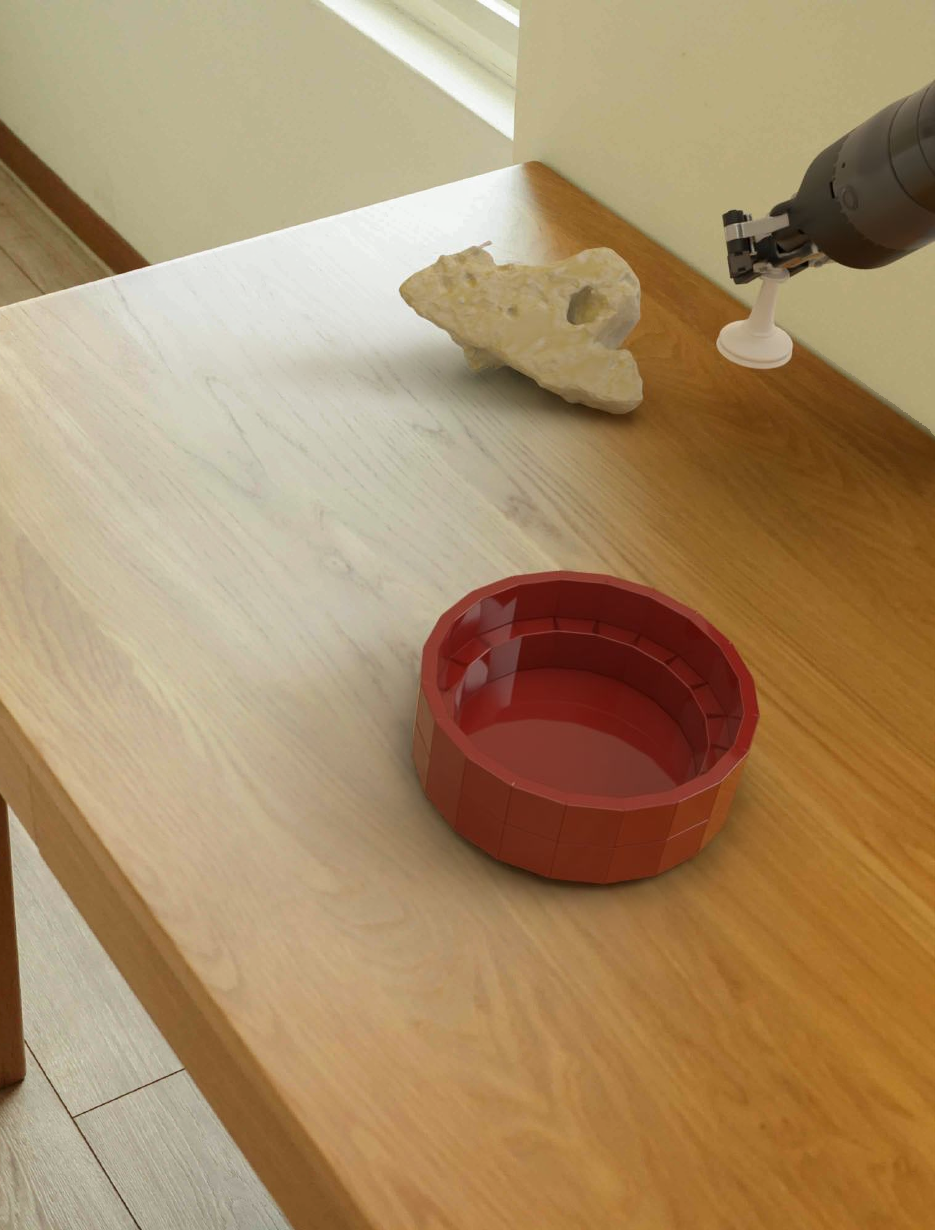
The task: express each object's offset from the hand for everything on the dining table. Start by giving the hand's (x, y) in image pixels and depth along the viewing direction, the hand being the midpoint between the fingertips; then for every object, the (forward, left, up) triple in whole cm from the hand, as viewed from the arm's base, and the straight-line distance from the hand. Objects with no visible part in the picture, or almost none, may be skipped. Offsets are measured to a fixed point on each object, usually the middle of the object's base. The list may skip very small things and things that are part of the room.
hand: (756, 267), depth 100 cm
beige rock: (+14, -3, -10) cm, 18 cm away
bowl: (+22, +31, -10) cm, 39 cm away
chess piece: (0, +2, -5) cm, 6 cm away
